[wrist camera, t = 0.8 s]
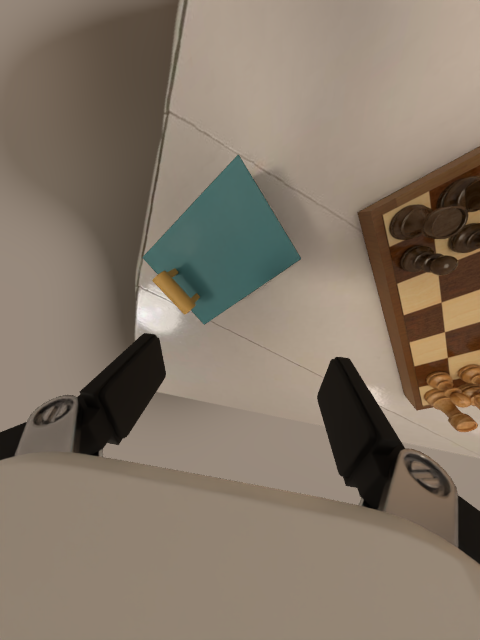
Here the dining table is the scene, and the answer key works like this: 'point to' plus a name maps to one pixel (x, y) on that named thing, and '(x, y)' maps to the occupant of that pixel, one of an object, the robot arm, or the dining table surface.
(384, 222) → the chess set
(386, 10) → the dining table surface
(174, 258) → the lid
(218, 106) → the dining table surface
